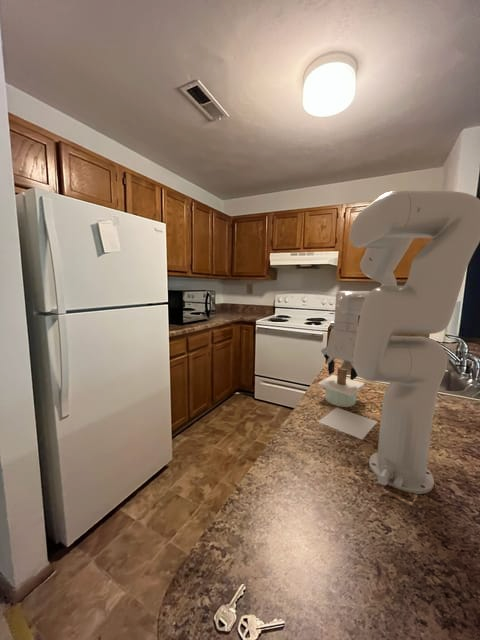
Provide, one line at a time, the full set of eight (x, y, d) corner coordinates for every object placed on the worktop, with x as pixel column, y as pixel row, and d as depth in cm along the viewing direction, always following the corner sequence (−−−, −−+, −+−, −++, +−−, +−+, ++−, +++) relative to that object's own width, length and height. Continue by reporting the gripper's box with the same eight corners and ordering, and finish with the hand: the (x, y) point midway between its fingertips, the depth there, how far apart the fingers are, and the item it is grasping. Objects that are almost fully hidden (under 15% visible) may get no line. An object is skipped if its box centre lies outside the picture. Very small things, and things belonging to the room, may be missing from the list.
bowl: (348, 411, 90) (349, 394, 89) (320, 401, 96) (321, 385, 95) (359, 401, 97) (360, 385, 96) (332, 393, 104) (333, 378, 103)
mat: (362, 441, 73) (362, 439, 73) (317, 423, 82) (318, 421, 81) (377, 423, 82) (377, 421, 82) (336, 409, 91) (336, 407, 91)
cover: (351, 396, 87) (353, 378, 86) (317, 385, 95) (318, 369, 94) (364, 385, 96) (366, 369, 95) (332, 377, 104) (333, 362, 103)
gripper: (317, 324, 96) (314, 372, 98) (368, 331, 84) (363, 385, 86) (326, 322, 101) (323, 367, 104) (375, 328, 89) (371, 379, 92)
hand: (341, 375), depth 95 cm, fingers open, 7 cm apart
